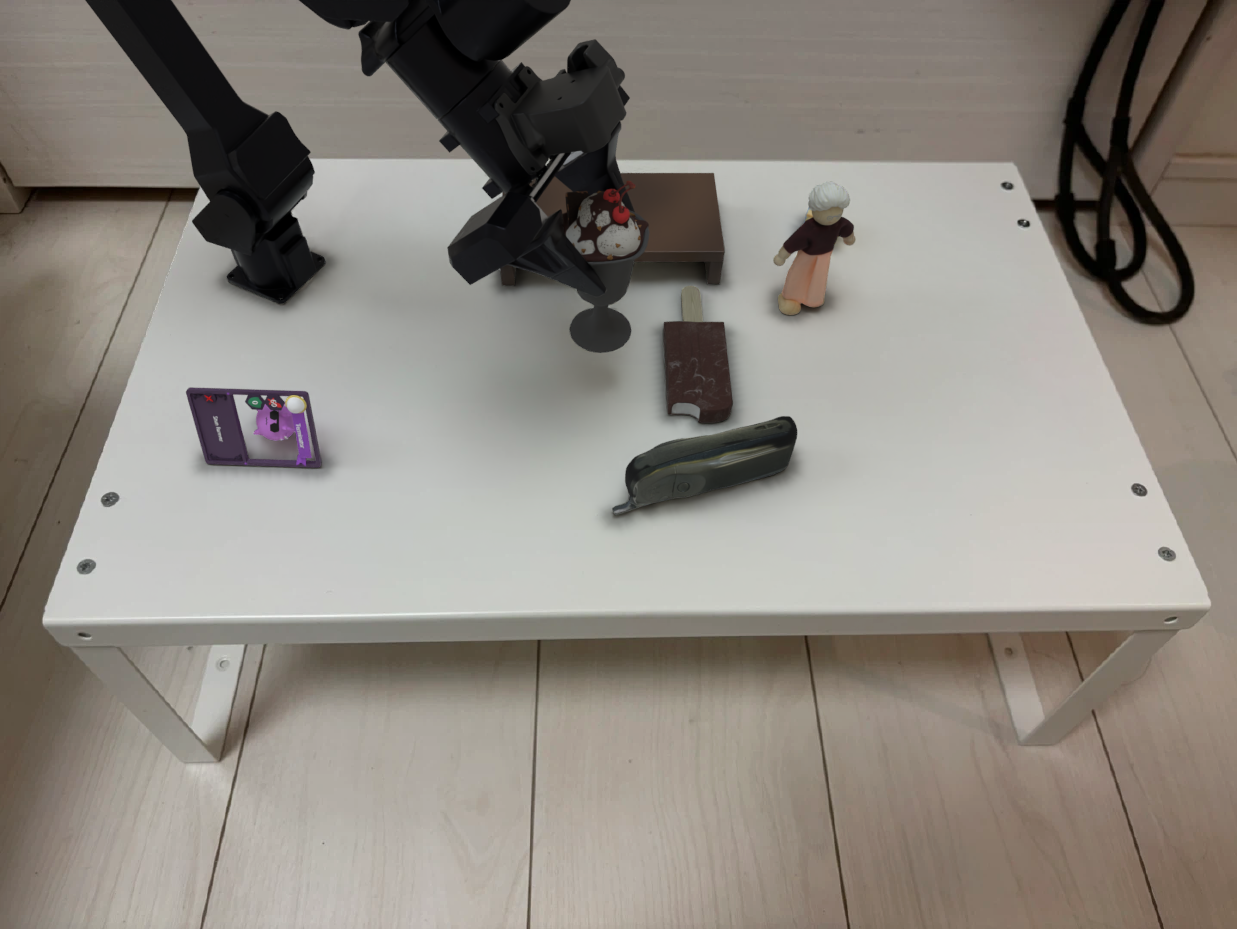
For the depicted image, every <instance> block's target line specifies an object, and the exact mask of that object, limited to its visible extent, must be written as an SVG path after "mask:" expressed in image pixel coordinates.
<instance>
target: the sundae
mask: <svg viewBox="0 0 1237 929" xmlns="http://www.w3.org/2000/svg"><path fill="white" fill-rule="evenodd" d="M627 185H629V187H630V188H628V189H627V190H626V191H625V192H623V194H622V195H621V197H620V195H619V193H618V192H619V191H620V190H621V189H622V188H624V187H625V186H627ZM635 187H636V185H635V184H634V183H633V182H631V181H626V184H625V185H624V186H622V187H621V188H620V189H618V190H615V189H607V190H606V191H605V192H603V191H602V192H601V191H598V192H597V193H594V194H592V195H590V196H589V194H588V192H587V191H575V192H567V193H566V194H565V197H566V209H567V212H566V213H564V214H563V226H564V233H565V235H566V237H567V238H568V239H569V240H570V241H571V243H572V244H573V245H574V246H575V248H576V249H577V250H578V251H579V252H580V254H581V255H582V256H583V257H584V258H585V260H586V261H587V262H588V263H589V265H590V266H591V267H592V268H593V269H594V271H595V272H596V273H597V275H598V276H599V277H600V279H601V280H602V282H603V283H604V285H605V286H606V288H607V291H606V293H605V294H604V295H601V296H599V297H594V296H591V295H589V294H586V293H584V292H582V291H579V290H577V289H575V290H576V293H577V294H578V296H579V297H580V299H581V300H583V301H585V302H587V303H589V304H590V305H592V306H593V307H590V308H589V307H588V308H587V309H584V310H581V311H580V312H578V313H577V314H575V316H574V317H573V318H572V320H571V322H570V324H569V335H570V338H571V340H572V341H573V343H574V344H576V345H577V347H579V348H581V349H582V350H585V351H587V352H591V353H595V354H596V353H597V354H605V353H611V352H614V351H617V350H619V349H621V348H623V347H624V346H625V345H626V344H627V343H628V341H629V340H630V339H631V336H632V332H633V331H632V326H631V322H630V321H629V319H628V318H627V317H626V316H625V315H624V314H623V313H622V312H620V311H619V310H616V309H614V308H611V307H609V306H610V305H614V304H615V303H617V302H619V301H620V300H622V299H623V297H625V295H626V293H627V292H628V291H627V290H628V288H629V285H630V282H631V279H632V274H633V269H634V266H635V262H634V261H635V259H636V258H638V257H640V256H641V255H642V254H643V253H644V251H645V249H646V247H647V244H648V240H649V228H648V227H649V224H648V222H647V221H645V220H644V219H643V218H642V217H641V216H640V215H639V214H637V213H635V212H633V211H631V210H629V209H627V208H626V207H625V205H624V204H623V202H622V197H623V196H624V194H625V193H626V192H627V191H629V190H630V189H634V188H635Z"/></svg>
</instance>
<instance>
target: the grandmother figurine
mask: <svg viewBox="0 0 1237 929" xmlns="http://www.w3.org/2000/svg"><path fill="white" fill-rule="evenodd" d="M850 203H851V198H850V194H849V192H848V190H847V189H846V188H845V187H843V186H842V185H841V184H839V183H836V182H833V181H832V180H831V181H824V182H823V183H821V184H820V183H819V184H815V186H814V187H813V188H812V190H811V191H810V192H809V194H808V202H807V206H808V207H809V209H810V210H812V215H813V217H812V218H810V219H808V220H806V221H805V222H804V221H803V223H802V224H801V225H800V226H799V227H798V228H797V229H796V230H795V231H794V232H792V234H791V235H790V236H789V237H788V238H787V239H786V240H785V241H783V243H782V246H781V247H780V248H779V249H778V253H777V254H775V255H774V257H773V258H772V259H773V260H772V261H773V264H774V265H775V266H777V267H782V266H783V265H784V264H785V263H786V260H788V259H789V258H790V257H791V255H793V254H794V253H796V256H795V257H794V259H793V261H792V263H791V265H790V267H789V268H788V270H787V273H786V276H785V280H784V284H783V287H782V290H781V292H780V293H779V294H778V296H777V304H778V309H779V311H780V312H781V313H782V314H784V315H786V316H793V315H797V314H799V313H800V312H801V311H802V305H801V304H803V305H804V306H806V307H810V308H819V307H822V306H823V305H824V304H825V296H826V295H825V294H826V289H827V284H828V277H829V270H830V265H831V257H832V254H833V253H834V252H833V251H834V249H835V244H836V242H837V240H838V237H839V238H842V241H843V243H844V245H846V246H853V245H854V244H855V243H856V240H857V238H856V236H855V232H854V230H855V225H854V224H853V222H851V221H850V220H849V219H847V218H846V217H845V216H843V214H844V211H845V209H846V208H848V207H849V206H850Z"/></svg>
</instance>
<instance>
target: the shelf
mask: <svg viewBox="0 0 1237 929" xmlns="http://www.w3.org/2000/svg"><path fill="white" fill-rule="evenodd" d="M620 174H621V177H622V180H623V182H624V185H625V184H626V181H631V182H633V183H634V184H635V185H636V187H635V188H634V189H630V190H629V191H627V193H628V195H629V198H630V201H631V203H632V206H633V208H634V211H635V213H637V214H639V215H640V216H641V217H642V218H643V219H644V220H645V221H647V222H648V224H649V227H648V228H649V240H648V244H647V247H646V249H645V251H644V253H643V254H642V255H641V256H640V257H638V258H636V259H635V261H634V263H692V262H693V263H699V262H701V263H702V262H703V263H704V270H705V278H706V284H707V286H708V285H720V284H721V279H722V273H723V266H724V259H725V253H726V250H725V243H724V242H725V241H724V236H723V229H722V221H721V214H720V208H719V207H720V206H719V198H718V191H717V185H716V177H715V173H714V172H620ZM534 181H535V179H534V180H533V181H532V183H531V184H530V186H532V184H533V183H534ZM625 188H626V190H627V189H628V188H630V187H629V185H627V186H625ZM567 192H572V191H571V190H570V189H569V188H568V187H567V186H565V185H564V184H563V183H562V182H561V181H560V180H558V179H557V178H556V177H555V176H554V178H553V179H552V181H551V182H550V183H549V185H548V186H547V188H546V189H545V191H544V192H543V193H542V195H541V196H540V198H539V199H538V200H537V202H536V204H537V205H538V206H539V207H540V208H541V209H542V210H543V211H544V213H545V214H546V215H547V216H550V215H551V214H553V213H555V212H556V211H558V210H560V209H561V210H562V214H564V213H566V212H567V209H566V197H565V194H566V193H567ZM504 194H505V193H504V192H502V193H501V196H503V195H504ZM499 271H500V280H501V281H500V282H501V286H502V287H503V286H505V287H506V286H512V287H513V286H514V287H515V286H516V274H517V268H516V267H513V266H510V265H506V266H504V267H502V268H500V269H499Z"/></svg>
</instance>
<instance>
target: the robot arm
mask: <svg viewBox="0 0 1237 929" xmlns="http://www.w3.org/2000/svg"><path fill="white" fill-rule="evenodd" d="M84 1H85V2H86V4H87V5H88V6H89V8H90V9H91V10H92V11H93V13H94V14H95V16H96V17H97V18H98V19H99V21H100V22H101V23H102V25H103V26H104V27H105V29H106V30H107V31H108V33H109V34H110V35H111V36H112V38H113V39H114V40H115V41H116V43H117V44H118V46H119V47H120V48H121V49H122V51H123V52H124V54H125V55H126V56H127V57H128V59H129V60H130V61H131V63H132V64H133V65H134V67H135V68H136V69H137V71H138V72H139V73H140V75H141V76H142V77H143V78H144V80H145V82H147V84H148V86H150V88H151V89H152V91H153V92H154V93H155V94H156V96H157V97H158V98H159V99H160V101H161V102H162V104H164V106H165V107H166V109H167V110H168V111H169V113H170V114H171V116H172V117H173V118H174V120H176V122H177V123H178V125H179V126H180V127H181V128H182V130H183V132H184V133H185V135H186V140H187V146H188V150H189V156H190V157H189V158H190V164H191V168H192V175H193V177H194V179H195V180H196V182H197V184H198V186H200V188H201V190H202V191H203V193H204V194H205V196H206V198H207V199H208V201H209V202H208V203H207V204H206V205H205V206H204V207H203V208H202V209H201V210H200V211H199V212H198V214H196V215H195V216H194V218H192V220H191V223H192V225H193V226H194V227H195V229H196V230H197V231H198V233H199V234H200V235H201V237H202V238H203V239H204V241H206V242H207V243H209V244H213V245H216V246H219V247H222V248H225V249H228V250H230V252H231V254H232V257H233V259H234V261H235V264H236V266H235V267H234V268H233V269H232V270H230V272H228V273H227V274H226V277H225V278H226V280H227V282H228V283H230V284H232V285H234V286H236V287H239V288H240V289H243V290H245V291H248V292H249V293H253V294H254V295H258V296H260V297H262V298H264V299H266V300H269V301H271V302H273V303H276V304H279V305H284V304H285V303H287V302H288V301H289V300H290V299H291V298H292V297H293V296H294V295H295V294H296V293H297V292H298V291H299V290H300V289H301V288H303V286H304V285H305V284H306V283H307V282H308V281H310V279H311V278H312V277H314V276H315V274H317V272H319V271H320V270H321V269H322V268H323V267H324V266H325V265H326V263H327V262H326V258H325V257H324V255H322V254H319V253H316V252H314V251H312V250H310V247H309V243H308V241H307V240H308V239H307V238H306V236H304V233H303V231H302V228H301V225H300V222H299V218H297V217H295V216H293V213H292V211H293V210H294V209H295V208H296V207H297V206H298V204H299V203H301V202H302V201H304V200H305V199H306V198H307V197H308V191H309V190H310V189H311V187H312V186H313V184H314V175H315V174H316V171H315V167H314V165H313V163H312V161H311V159H310V156H309V155H310V154H311V153H312V152H311V150H310V149H309V148H308V147H307V146H306V145H305V144H304V143H303V142H302V141H301V140H300V138H299V137H298V135H297V134H296V133H295V131H294V129H293V128H292V126H291V124H290V122H289V120H288V118H287V117H286V116H285V115H284V114H283V113H282V112H280V111H277V110H276V111H273V112H271V113H270V114H268V113H266V112H264V111H262V110H260V109H259V108H256V107H255V106H253V105H251V104H249V103H247V102H245V101H243V99H242V98H241V97H240V96H239V94H238V92H236V90H235V88H234V87H233V86H232V85H231V83H230V81H229V80H228V79H227V77H226V76H225V74H224V73H223V71H222V70H221V69H220V67H219V66H218V64H217V62H216V61H215V60H214V58H213V57H212V56H211V54H210V53H209V51H208V50H207V49H206V47H205V46H204V44H203V43H202V41H201V40H200V38H199V37H198V35H197V34H196V33H195V31H194V30H193V28H192V27H191V26H190V24H189V23H188V22H187V20H186V18H185V17H184V15H183V14H182V13H181V11H180V10H179V9H178V7H177V5H176V4H175V2H174V1H173V0H84ZM298 1H299V2H300V3H301V4H302V5H304V6H305V7H306V8H308V9H309V10H310V11H311V12H313V13H314V14H315V15H316V16H317V17H319V18H320V19H321V20H323V21H325V23H327V24H329V25H332V26H334V27H336V28H338V29H343V30H347V31H350V30H351V29H352V28H358V27H361V26H363V27H362V28H361V29H360V30H359V31H358V33H357V35H358V38H359V41H360V48H361V49H360V50H361V54H360V66H361V72H362V74H363V75H364V76H366V77H372V76H373V75H375V73H376V72H377V71H379V69H380V68H381V67H382V66H384V65H385V64H386V65H387V66H388V67H389V68H390V69H391V70H392V72H393V73H394V74H395V75H397V77H398V78H399V79H400V81H401V82H402V83H403V84H404V85H405V86H406V87H407V88H408V89H409V90H410V91H411V93H412V94H413V95H414V96H415V97H416V98H417V99H418V100H419V101H420V103H421V104H422V105H423V106H424V107H425V108H426V109H427V110H428V111H429V113H430V114H431V115H432V116H433V117H434V118H435V119H436V120H437V122H438V123H439V124H440V125H441V126H442V127H443V128H444V130H446V132H445V133H444V134H443V135H442V136H441V137H440V139H439V140H438V142H439V143H440V144H441V145H442V146H443V147H444V149H445V150H446V151H447V152H448V153H452V152H453V151H454V150H456V149H457V148H458V147H459V146H460V147H461V149H463V151H465V153H466V154H467V155H468V156H469V157H470V158H471V159H472V161H473V162H474V163H475V164H476V165H477V166H478V167H479V168H480V169H481V170H482V171H483V173H484V174H485V175H486V176H487V177H488V180H487V181H486V182H485V183H484V185H483V186H482V187H481V189H482V190H483V191H484V192H485V194H486V195H487V196H488V197H489V198H490V199H491V200H493V199H495V198H496V199H495V200H494V201H492V202H490V203H489V204H487V205H486V206H484V207H483V208H481V209H480V210H479V211H477V212H475V213H474V214H472V215H471V216H470V217H469V218H468V220H467V221H466V222H465V223H464V225H463V226H462V227H461V229H460V230H459V231H458V233H457V234H456V235H455V237H454V238H453V239H452V241H451V242H450V244H448V246H447V254H448V255H447V256H448V261H449V264H450V265H451V267H452V268H453V270H454V271H455V272H457V274H459V276H460V277H461V278H462V279H463V280H464V281H465V282H466V283H467V284H468V285H469V286H472V285H474V284H476V283H477V282H479V281H481V280H482V279H484V278H486V277H488V276H490V275H491V274H493V273H495V272H497V271H499V270H500V268H502V267H504V266H506V265H510V266H513V267H516V269H520V270H523V271H527V272H530V273H533V274H536V275H539V276H542V277H545V278H547V279H550V280H552V281H555V282H558V283H560V284H562V285H565V286H567V287H569V288H572V289H575V290H576V289H577V290H579V291H582V292H584V293H586V294H589V295H591V296H594V297H599V296H601V295H604V294H605V293H606V291H607V288H606V286H605V285H604V283H603V282H602V280H601V279H600V277H599V276H598V275H597V273H596V272H595V271H594V269H593V268H592V267H591V266H590V265H589V263H588V262H587V261H586V260H585V258H584V257H583V256H582V255H581V254H580V252H579V251H578V250H577V249H576V248H575V246H574V245H573V244H572V243H571V241H570V240H569V239H568V238H567V237H566V235H565V233H564V226H563V214H562V210H561V209H560V210H558V211H556V212H555V213H553V214H551V215H550V216H547V215H546V214H545V213H544V211H543V210H542V209H541V208H540V207H539V206H538V205H537V204H536V202H537V200H538V199H539V198H540V196H541V195H542V193H543V192H544V191H545V189H546V188H547V186H548V185H549V183H550V182H551V181H552V179H553V178H554V176H555V177H556V178H557V179H558V180H560V181H561V182H562V183H563V184H564V185H565V186H567V187H568V188H569V189H570V190H571V191H572V192H575V191H587V192H588V194H589V196H590V195H592V194H594V193H597V192H598V191H601V192H602V191H603V192H605V191H606V190H607V189H615V190H618V189H620V188H621V187H622V186H624V182H623V180H622V177H621V174H620V173H621V171H620V168H619V164H618V162H617V156H616V155H617V148H618V140H619V136H620V132H621V130H622V121H623V120H624V119H625V118H626V116H627V110H626V108H625V106H626V105H627V104H628V102H629V100H631V97H630V96H629V95H628V92H626V91H625V89H624V88H623V87H622V86H621V84H622V83H623V82H624V80H625V79H626V73H625V71H624V70H623V69H622V68H621V67H618V65H617V62H616V60H615V58H614V57H613V56H612V55H611V54H610V53H609V52H608V50H606V49H605V48H604V46H602V45H601V43H600V42H599V41H598V40H597V39H596V38H595V39H590V40H586V41H581V42H580V41H579V42H578V43H577V45H576V46H574V48H573V50H571V52H570V53H569V54H568V56H567V58H566V69H565V68H562V69H560V70H559V71H558V72H557V73H556V75H555V76H554V77H551V78H547V79H544V80H543V79H542V78H541V77H539V76H538V75H537V74H536V72H535V71H534V69H532V68H531V67H530V66H528V65H525V64H524V63H523V62H520V63H518V64H517V65H515V67H514V68H513V69H510V68H509V66H508V65H507V64H506V63H505V61H504V59H506V58H508V57H510V56H511V55H512V54H513V53H514V52H516V51H517V50H518V49H519V48H521V46H523V45H524V44H525V43H526V42H527V41H529V40H530V39H531V38H533V37H534V36H535V35H536V34H537V33H538V32H540V31H541V30H542V29H543V28H545V27H546V26H547V25H548V24H549V23H551V22H552V21H553V20H555V18H557V17H558V16H559V15H560V14H562V13H563V12H564V11H565V10H566V9H567V8H568V7H569V6H570V4H571V2H572V0H298ZM534 179H535V181H534V183H533V184H532V186H530V184H531V183H532V181H533V180H534ZM625 191H626V188H625V187H624V188H622V189H621V190H620V191H619V192H618V193H619V195H620V197H621V195H622V194H623V192H625ZM502 192H504V193H505V194H504V195H503V196H502ZM500 195H501V196H500ZM498 196H500V197H498ZM497 197H498V198H497ZM622 202H623V204H624V205H625V207H626V208H627V209H629V210H631V211H633V212H635V211H634V208H633V206H632V203H631V201H630V198H629V195H628V193H627V192H626V193H625V194H624V196H623V197H622ZM577 290H576V291H577Z"/></svg>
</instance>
